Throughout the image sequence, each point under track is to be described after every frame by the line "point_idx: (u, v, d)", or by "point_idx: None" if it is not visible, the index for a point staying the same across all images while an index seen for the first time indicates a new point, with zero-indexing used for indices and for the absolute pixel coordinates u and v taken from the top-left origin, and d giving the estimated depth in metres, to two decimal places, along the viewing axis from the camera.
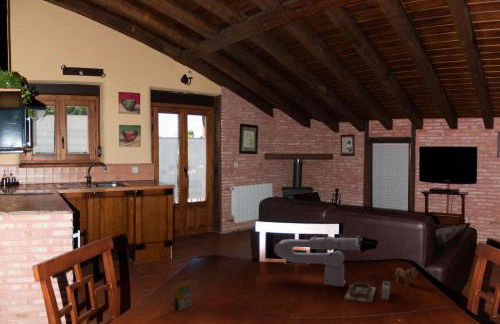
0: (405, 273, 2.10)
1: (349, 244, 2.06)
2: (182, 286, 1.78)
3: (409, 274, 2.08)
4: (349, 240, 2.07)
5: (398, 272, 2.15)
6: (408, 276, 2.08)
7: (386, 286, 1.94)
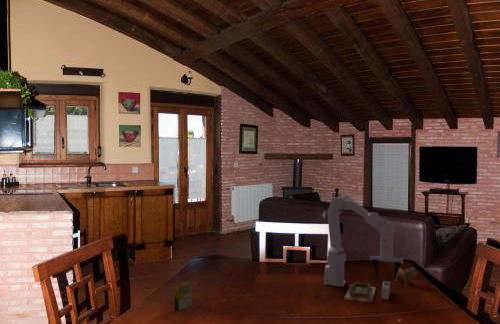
0: (404, 273, 2.11)
1: (380, 249, 1.96)
2: (182, 286, 1.78)
3: (408, 274, 2.09)
4: (382, 250, 1.94)
5: (397, 272, 2.15)
6: (407, 276, 2.09)
7: (386, 286, 1.94)
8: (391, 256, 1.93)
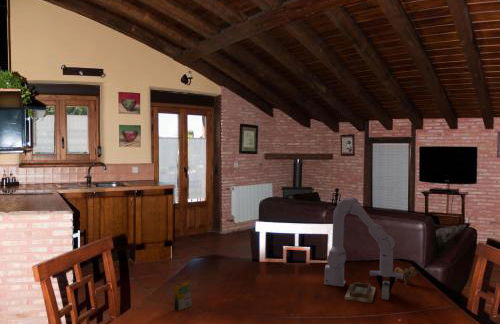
0: (404, 272, 2.11)
1: None
2: (182, 286, 1.78)
3: (408, 273, 2.09)
4: (381, 266, 1.94)
5: (397, 271, 2.16)
6: (407, 275, 2.09)
7: (386, 286, 1.94)
8: (391, 271, 1.93)
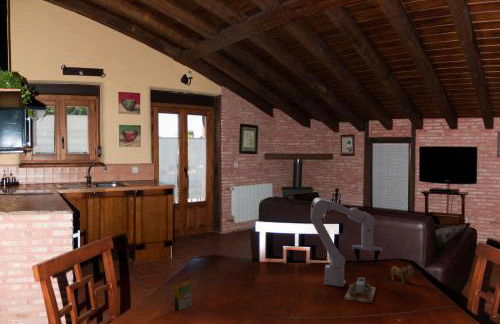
0: (401, 271, 2.13)
1: (361, 239, 2.12)
2: (182, 286, 1.78)
3: (405, 272, 2.11)
4: (363, 240, 2.10)
5: (394, 270, 2.18)
6: (404, 274, 2.11)
7: (360, 282, 1.94)
8: (371, 245, 2.09)
